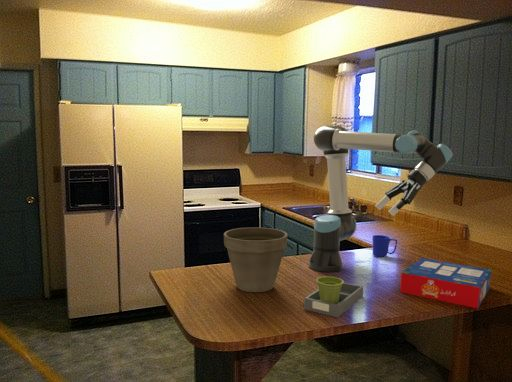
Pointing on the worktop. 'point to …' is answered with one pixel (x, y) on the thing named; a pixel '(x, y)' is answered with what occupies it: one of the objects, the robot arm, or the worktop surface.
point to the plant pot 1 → (255, 256)
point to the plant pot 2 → (329, 289)
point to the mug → (382, 245)
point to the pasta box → (446, 282)
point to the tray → (346, 300)
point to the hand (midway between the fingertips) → (383, 210)
